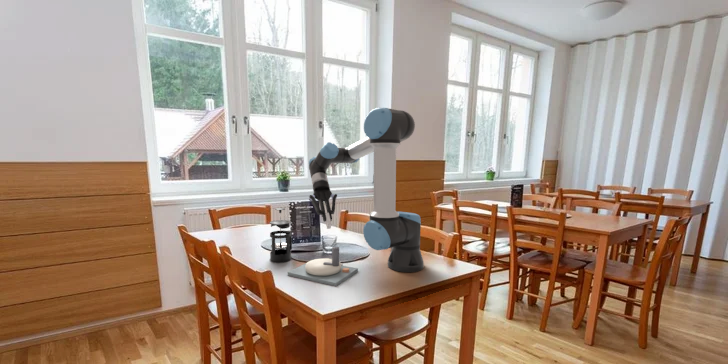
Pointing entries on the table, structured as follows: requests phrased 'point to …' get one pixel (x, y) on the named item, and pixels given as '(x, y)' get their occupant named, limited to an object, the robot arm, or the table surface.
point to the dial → (325, 265)
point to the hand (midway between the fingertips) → (329, 226)
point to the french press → (282, 250)
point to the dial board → (328, 279)
